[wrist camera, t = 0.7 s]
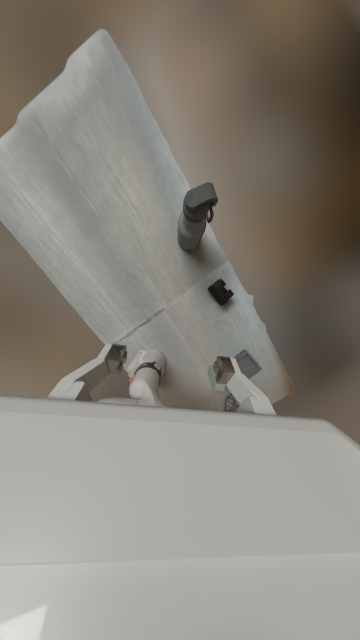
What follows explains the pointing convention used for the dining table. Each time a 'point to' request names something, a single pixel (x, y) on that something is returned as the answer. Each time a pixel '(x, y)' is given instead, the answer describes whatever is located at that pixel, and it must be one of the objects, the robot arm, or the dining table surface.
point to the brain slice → (231, 404)
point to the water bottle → (195, 215)
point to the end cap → (220, 292)
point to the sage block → (213, 380)
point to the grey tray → (247, 364)
